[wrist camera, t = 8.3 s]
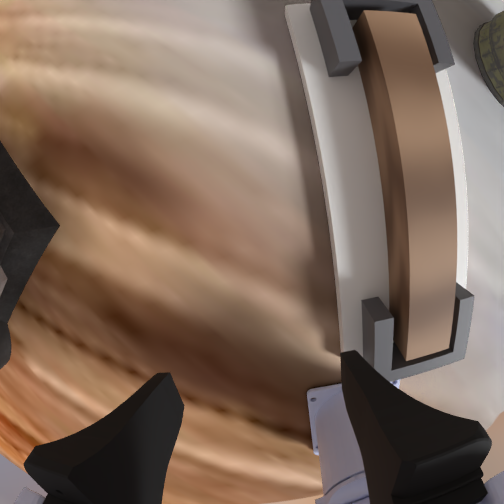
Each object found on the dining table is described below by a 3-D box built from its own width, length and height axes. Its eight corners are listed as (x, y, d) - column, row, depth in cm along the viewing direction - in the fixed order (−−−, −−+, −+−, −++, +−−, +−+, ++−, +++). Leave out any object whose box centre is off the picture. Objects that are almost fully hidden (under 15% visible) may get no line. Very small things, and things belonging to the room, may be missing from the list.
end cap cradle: (451, 329, 21) (477, 358, 17) (341, 357, 22) (353, 395, 18) (416, 15, 14) (443, -10, 10) (284, 15, 15) (287, -19, 11)
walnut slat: (427, 323, 19) (448, 348, 16) (388, 333, 20) (406, 361, 16) (394, 34, 14) (415, 14, 11) (348, 33, 14) (363, 10, 11)
